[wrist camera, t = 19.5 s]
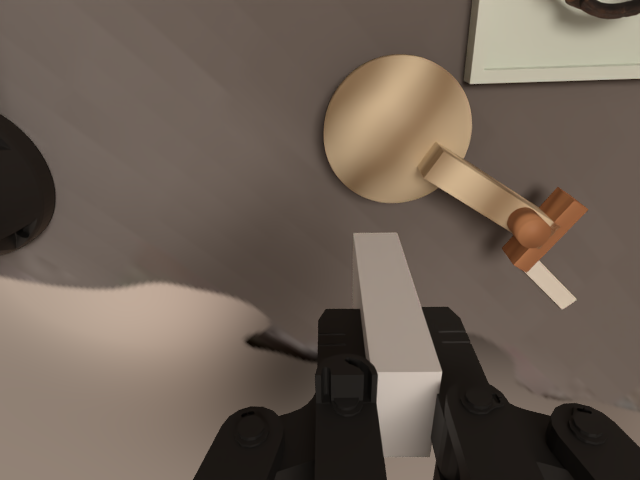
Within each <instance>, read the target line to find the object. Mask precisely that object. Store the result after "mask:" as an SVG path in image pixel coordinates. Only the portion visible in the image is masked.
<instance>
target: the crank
mask: <svg viewBox="0 0 640 480" xmlns="http://www.w3.org/2000/svg"><path fill="white" fill-rule="evenodd" d="M471 131H472V116H471V110H470V106H469V103H468V99H467V97H466V95H465V93H464V91H463V89H462V87H461V86H460V84H459V83H458V82H457V80H456V79H455V78H454V77H453V76H452V75H451V74H450V73H449V72H447V71H446V70H445V69H444V68H442V67H441V66H439V65H437V64H435V63H434V62H432V61H430V60H427V59H425V58H422V57H418V56H414V55H407V54H392V55H387V56H382V57H379V58H376V59H373V60H371V61H368V62H366V63H364V64H363V65H361V66H360V67H358V68H357V69H355V70H354V71H353V72H351V73H350V74H349V75H348V76H347V77H346V78H345V79H344V80H343V81H342V83H341V84H340V85H339V86H338V88H337V89H336V91H335V92H334V94H333V96H332V98H331V100H330V103H329V105H328V108H327V111H326V116H325V122H324V146H325V152H326V155H327V158H328V161H329V163H330V165H331V167H332V169H333V171H334V172H335V174H336V175H337V177H338V178H339V179H340V180H341V181H342V183H343V184H345V185H346V186H347V187H348V188H349V189H351V190H352V191H353V192H355V193H356V194H358V195H360V196H362V197H364V198H367V199H370V200H373V201H378V202H383V203H401V202H408V201H412V200H415V199H418V198H421V197H423V196H426V195H428V194H429V193H431V192H433V191H435V190H436V189H437V188H441V189H442V190H444V191H445V192H447V193H449V194H450V195H452V196H453V197H455V198H457V199H458V200H460V201H462V202H463V203H465V204H466V205H468V206H470V207H471V208H473V209H474V210H476V211H478V212H479V213H481V214H483V215H484V216H486V217H487V218H489V219H491V220H492V221H494V222H496V223H497V224H499V225H500V226H502V227H504V228H505V229H507V230H508V231H510V232H512V234H513V236H512V238H511V239H510V240H509V241H508V242H507V243H506V244H505V245H504V246H503V247H502V249H503V251H504V252H505V253H506V255H507V256H508V258H509V259H510V261H511V262H512V263H513V265H515V266H516V267H518V268H520V269H521V270H523V271H525V272H526V273H527V272H528V271H529V270H530V269H531V268H532V267H533V266H534V265H535V264H536V263H537V262H538V261H539V260H540V259H541V258H542V257H543V256H544V255H545V254H546V253H547V251H548V250H549V249H550V248H551V247H552V246H553V245H554V244H555V243H556V242H557V241H558V240H559V239H560V238H561V237H562V236H563V235H564V234H565V233H566V232H567V231H568V230H569V229H570V228H571V227H572V226H573V225H574V224H575V223H576V222H577V221H578V220H579V219H580V218H581V217H582V216H583V215H584V213H585V212H586V211H587V210H588V209H587V208H586V207H585V206H583V205H582V204H581V203H579V202H578V201H577V200H576V199H574V198H573V197H572V196H571V195H569V194H568V193H566V192H565V191H563V190H562V189H560V188H559V187H557V188H556V189H555V191H554V192H553V193H552V194H551V195H550V196H549V197H548V198H547V199H546V200H545V201H544V203H543V204H542V205H541V206H540V207H537V206H536V205H534V204H532V203H531V202H529V201H528V200H526V199H525V198H523V197H522V196H520V195H519V194H517V193H515V192H514V191H512V190H511V189H509V188H508V187H506V186H505V185H503V184H502V183H500V182H498V181H497V180H495V179H494V178H492V177H491V176H489V175H488V174H486V173H484V172H483V171H481V170H480V169H478V168H477V167H475V166H474V165H472V164H471V163H469V162H467V161H466V160H464V157H465V154H466V152H467V149H468V147H469V143H470V138H471Z"/></svg>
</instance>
